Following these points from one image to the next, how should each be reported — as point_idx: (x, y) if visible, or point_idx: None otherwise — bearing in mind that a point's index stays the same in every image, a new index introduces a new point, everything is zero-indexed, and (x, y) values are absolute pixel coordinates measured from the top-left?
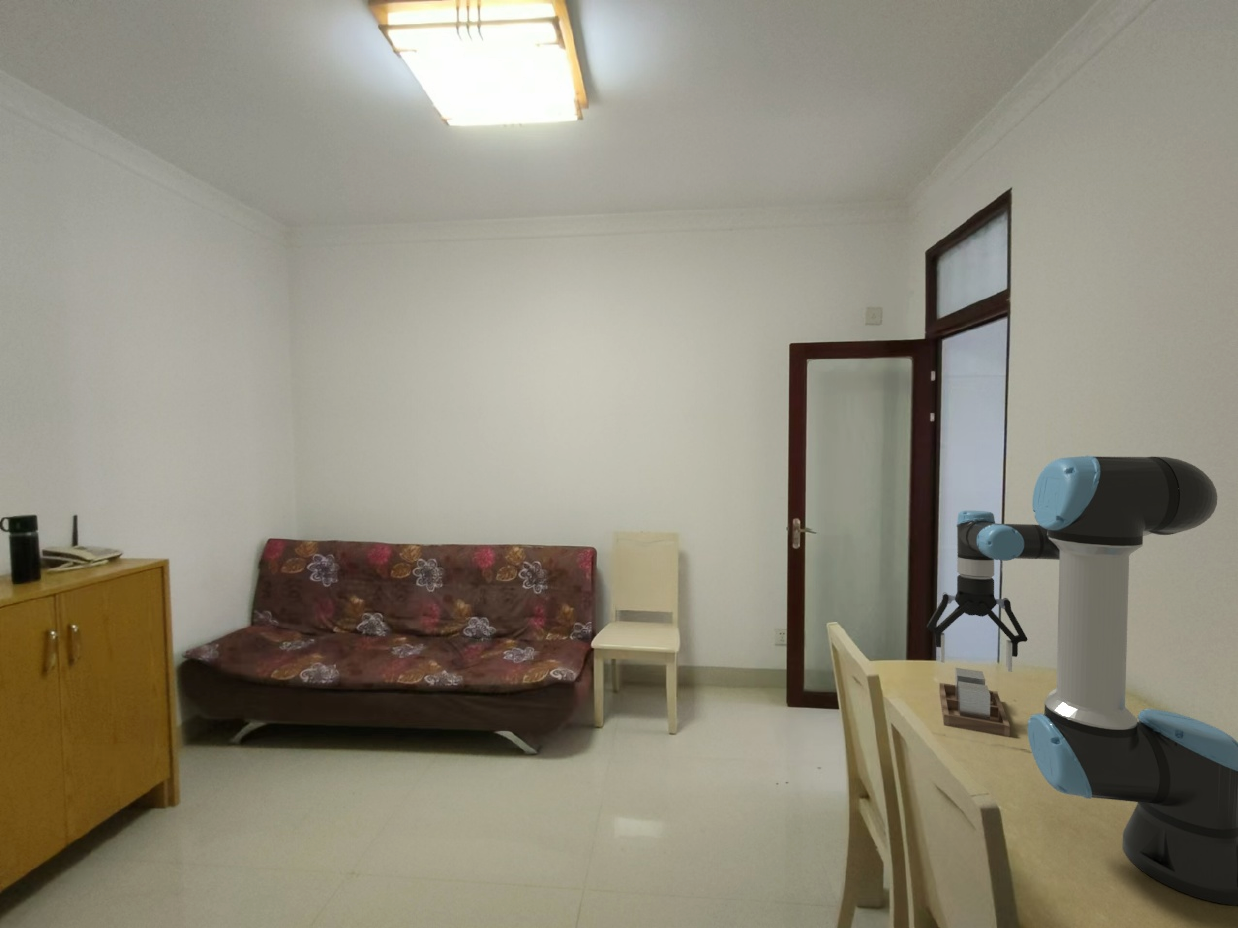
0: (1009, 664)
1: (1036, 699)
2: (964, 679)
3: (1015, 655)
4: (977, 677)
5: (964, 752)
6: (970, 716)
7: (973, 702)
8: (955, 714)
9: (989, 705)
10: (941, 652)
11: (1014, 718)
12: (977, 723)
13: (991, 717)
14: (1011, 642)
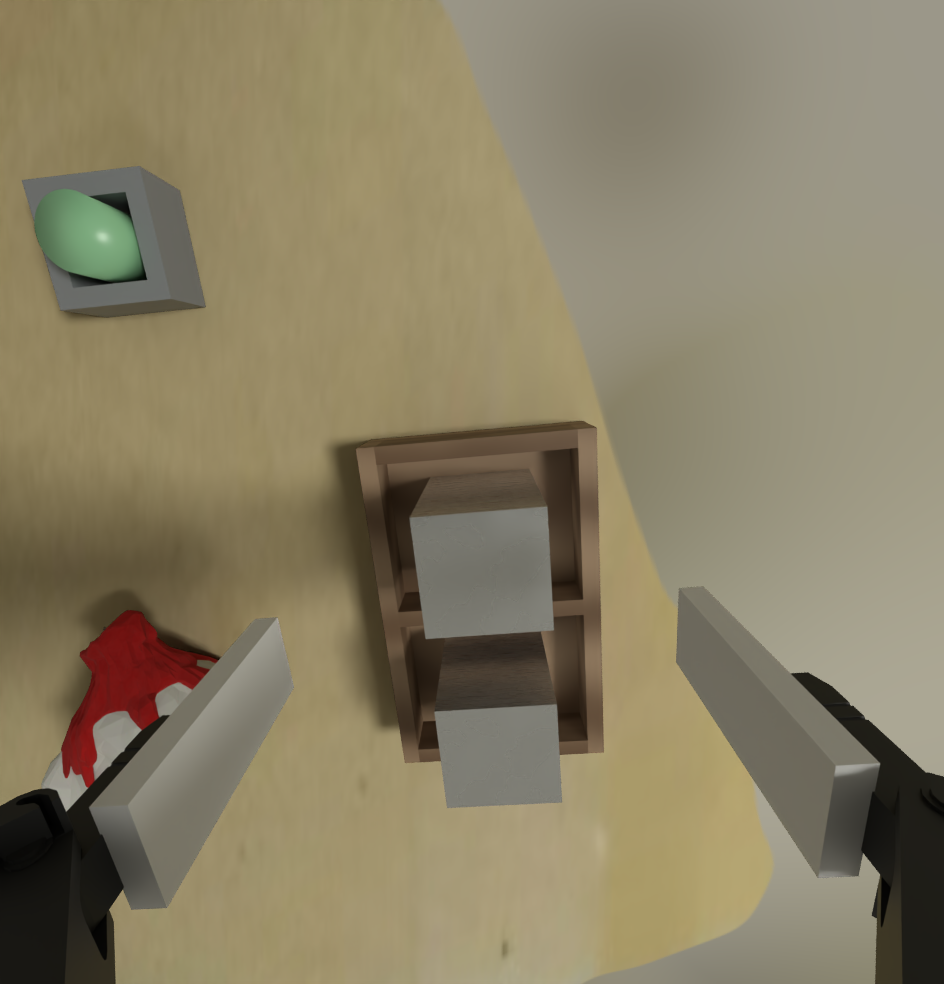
0: (245, 647)
1: (303, 821)
2: (523, 695)
3: (162, 722)
4: (467, 723)
5: (514, 245)
6: (495, 479)
7: (485, 496)
8: None
9: (420, 501)
10: (741, 629)
11: (360, 642)
12: (470, 436)
13: None
14: (100, 837)
